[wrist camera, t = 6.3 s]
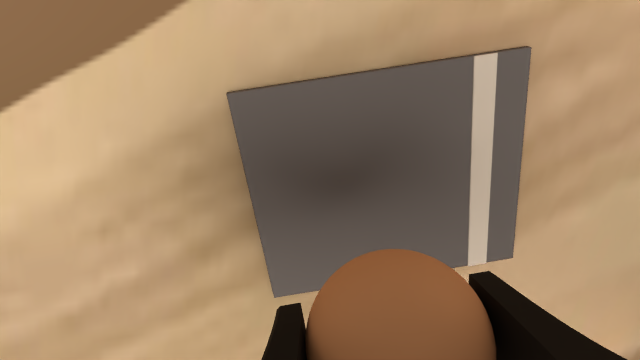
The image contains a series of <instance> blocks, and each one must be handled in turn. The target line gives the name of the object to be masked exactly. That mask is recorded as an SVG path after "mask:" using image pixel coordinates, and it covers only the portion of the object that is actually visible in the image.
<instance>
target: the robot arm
mask: <svg viewBox="0 0 640 360" xmlns="http://www.w3.org/2000/svg"><path fill="white" fill-rule="evenodd" d="M469 285H470V286H471V287H472V289H473V290H474V291H475V293H476V294H477V296H478V297H479V299H480V300H481V302H482V304H483V306H484V308H485V309H486V312H487V314H488V317H489V319H490V322H491V325H492V328H493V332H494V337H495V343H496V360H627V359H625V358H623V357H621V356H619V355H617V354H615V353H614V352H612V351H610V350H608V349H606V348H604V347H603V346H601V345H599V344H597V343H596V342H594V341H592V340H591V339H589V338H587V337H586V336H584V335H583V334H581V333H579V332H578V331H576V330H574V329H573V328H571V327H569V326H568V325H566V324H565V323H563V322H562V321H560V320H559V319H557V318H556V317H554V316H552V315H551V314H549V313H548V312H547V311H545V310H544V309H542V308H541V307H539V306H538V305H536V304H535V303H533V302H532V301H531V300H529V299H528V298H526V297H525V296H523V295H522V294H521V293H519V292H518V291H516V290H515V289H514V288H512V287H511V286H510V285H508V284H507V283H505V282H504V281H503V280H501V279H500V278H498V277H497V276H496V275H494V274H493V273H491V272H490V271H486V272H480V273H474V274H469ZM305 338H306V328H305V323H304V318H303V313H302V308H301V303H296V304H290V305H284V306H280V307H279V308H278V309H277V312H276V317H275V321H274V324H273V328H272V331H271V334H270V337H269V340H268V343H267V346H266V349H265V352H264V354H263V357H262V360H307V357H306V348H305Z"/></svg>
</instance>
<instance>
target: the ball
mask: <svg viewBox="0 0 640 360" xmlns="http://www.w3.org/2000/svg"><path fill="white" fill-rule="evenodd" d="M305 348H306V357H307V360H496V343H495V337H494V332H493V328H492V325H491V322H490V319H489V317H488V314H487V312H486V309H485V308H484V306H483V304H482V302H481V300H480V299H479V297H478V296H477V294H476V293H475V291H474V290H473V289H472V287H471V286H470V285H469V284H468V283H467V282H466V281H465V280H464V279H463V278H462V277H461V276H460V275H459V274H458V273H457V272H456V271H454V270H453V269H452V268H450V267H449V266H447V265H446V264H444V263H443V262H441V261H439V260H437V259H435V258H433V257H431V256H428V255H425V254H423V253H420V252H416V251H412V250H404V249H384V250H377V251H373V252H369V253H366V254H363V255H360V256H358V257H356V258H354V259H352V260H351V261H349V262H347V263H346V264H344V265H343V266H342V267H340V268H339V269H338V270H337V271H336V272H335V273H334V274H333V275H331V276H330V277H329V279H328V280H327V281H326V282H325V284H324V285H323V287H322V288H321V290H320V291H319V293H318V295H317V296H316V298H315V301H314V303H313V306H312V308H311V311H310V314H309V318H308V322H307V328H306V338H305Z"/></svg>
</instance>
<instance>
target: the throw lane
mask: <svg viewBox="0 0 640 360" xmlns="http://www.w3.org/2000/svg"><path fill="white" fill-rule="evenodd" d="M530 57H531V47H528V46H526V47H520V48H513V49H507V50H500V51H494V52H487V53H481V54H474V55H468V56H461V57H455V58H448V59H442V60H435V61H429V62H422V63H416V64H409V65H403V66H396V67H390V68H383V69H377V70H370V71H364V72H357V73H351V74H344V75H338V76H331V77H325V78H318V79H312V80H305V81H299V82H292V83H285V84H279V85H272V86H266V87H259V88H253V89H246V90H240V91H233V92H227V98H228V102H229V107H230V111H231V115H232V119H233V124H234V128H235V132H236V136H237V141H238V145H239V149H240V154H241V158H242V162H243V166H244V171H245V175H246V179H247V183H248V188H249V192H250V196H251V201H252V205H253V209H254V213H255V218H256V222H257V226H258V230H259V235H260V239H261V243H262V247H263V252H264V256H265V260H266V265H267V269H268V273H269V277H270V282H271V286H272V290H273V294H274V298H276V297H282V296H288V295H294V294H300V293H306V292H312V291H318V290H321V288H322V287H323V285H324V284H325V282H326V281H327V280H328V279H329V277H330V276H331V275H333V274H334V273H335V272H336V271H337V270H338V269H339V268H340V267H342V266H343V265H344V264H346V263H347V262H349V261H351V260H352V259H354V258H356V257H358V256H360V255H363V254H366V253H369V252H373V251H377V250H384V249H404V250H412V251H416V252H420V253H423V254H425V255H428V256H431V257H433V258H435V259H437V260H439V261H441V262H443V263H444V264H446V265H447V266H449V267H450V268H455V267H461V266H473V265H479V264H485V263H486V262H491V261H497V260H503V259H509V258H513V249H514V238H515V227H516V215H517V204H518V193H519V182H520V170H521V159H522V148H523V136H524V125H525V114H526V103H527V91H528V80H529V69H530Z"/></svg>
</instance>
